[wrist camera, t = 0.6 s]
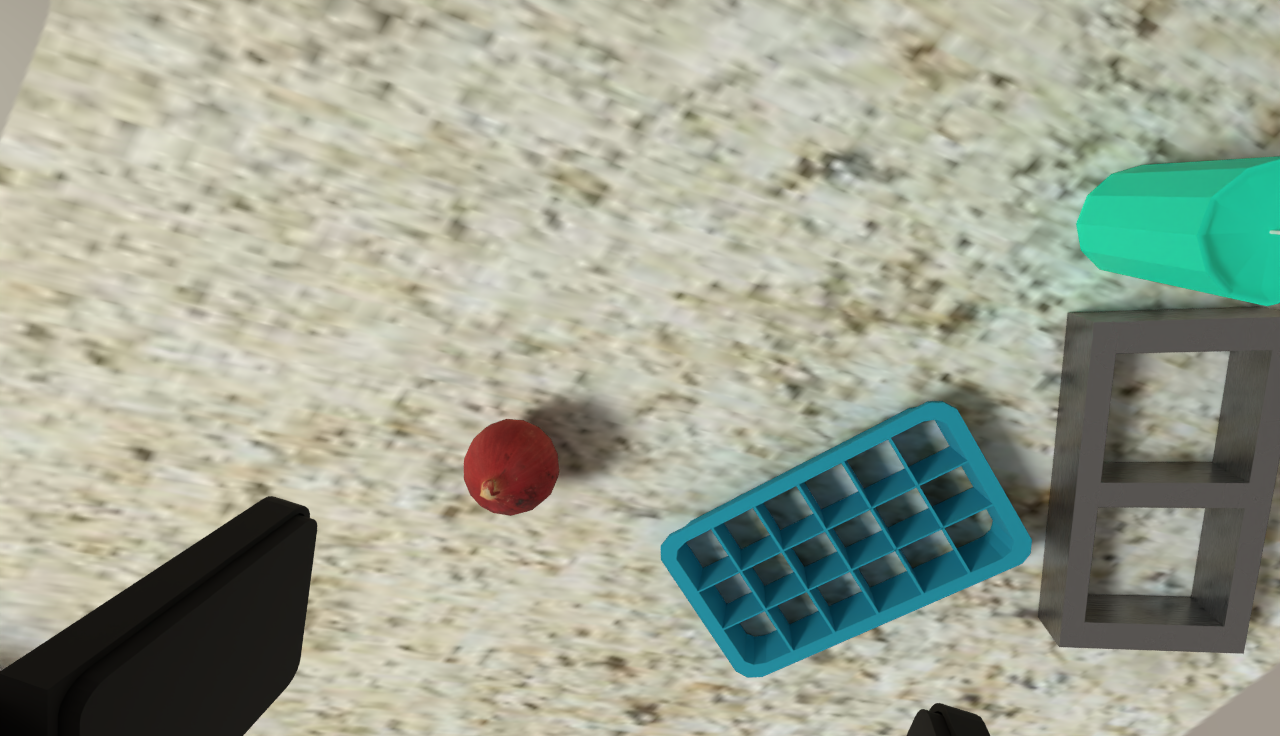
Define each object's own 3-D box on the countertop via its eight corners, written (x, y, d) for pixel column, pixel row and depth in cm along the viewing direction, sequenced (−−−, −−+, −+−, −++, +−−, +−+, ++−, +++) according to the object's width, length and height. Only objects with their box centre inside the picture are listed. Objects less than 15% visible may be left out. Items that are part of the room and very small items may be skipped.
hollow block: (1067, 312, 39) (1093, 322, 36) (1262, 306, 38) (1305, 316, 35) (1038, 617, 44) (1059, 646, 41) (1209, 622, 43) (1243, 653, 40)
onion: (588, 450, 45) (558, 503, 38) (530, 501, 47) (489, 561, 39) (528, 387, 45) (485, 427, 37) (471, 440, 46) (418, 489, 39)
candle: (1104, 295, 39) (1259, 340, 27) (1057, 204, 38) (1197, 210, 26) (1213, 238, 37) (1427, 260, 26) (1167, 142, 36) (1366, 120, 25)
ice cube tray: (1020, 531, 43) (1040, 555, 40) (744, 655, 48) (744, 684, 45) (933, 379, 42) (947, 393, 39) (656, 524, 47) (651, 545, 44)
